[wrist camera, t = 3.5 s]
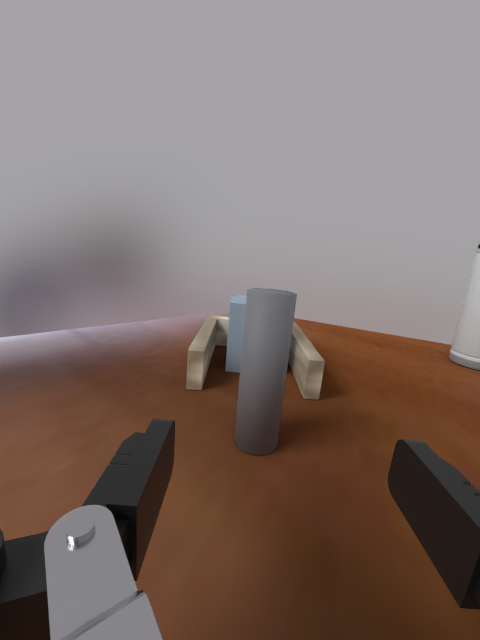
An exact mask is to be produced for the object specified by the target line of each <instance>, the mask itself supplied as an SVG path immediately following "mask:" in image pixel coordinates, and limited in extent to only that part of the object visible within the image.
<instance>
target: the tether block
mask: <svg viewBox="0 0 480 640" xmlns="http://www.w3.org/2000/svg"><path fill="white" fill-rule="evenodd" d="M296 296H297V294H295V293H292V292H288V291H281V290H274V289H261V288H260V289H259V288H254V289H248V290H247V296H237V295H232V298H231V302H230V314H229V327H228V340H227V353H226V366H225V371H226V372H238V373H240V377H239V388H238V400H237V411H236V422H235V433H234V442H235V444H236V446H237V447H238V448H239V449H240V450H242V451H243V452H245V453H248V454H251V455H267V454H270V453H272V452H273V451H274V450H275V449H276V448H277V444H278V436H279V428H280V421H281V413H282V405H283V397H284V390H285V382H286V374H287V366H288V359H289V351H290V343H291V335H292V328H293V320H294V312H295V304H296Z"/></svg>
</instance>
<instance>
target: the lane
mask: <svg viewBox="0 0 480 640" xmlns="http://www.w3.org/2000/svg"><path fill="white" fill-rule="evenodd" d="M228 327H229V317H220V316H207V318H206V319H205V321H204V323H203V325H202V326H201V328H200V330H199V332H198V333H197V335H196V337H195V339H194V340H193V342H192V344H191V346H190V347H189V349H188V357H187V381H186V389H192V390H202V387H203V384H204V380H205V377H206V374H207V371H208V367H209V364H210V361H211V357H212V354H213V351H214V348H215V345H218V346H227V340H228ZM288 363H289V365H290V367H291V370H292V372H293V375H294V377H295V379H296V382H297V384H298V386H299V389H300V391H301V394H302V396H303V398H304V399H316V400H319V395H320V389H321V383H322V377H323V370H324V364H325V361H324V360H323V358H322V357H321V356H320V354H319V353H318V352H317V350H316V349H315V348H314V346H313V345H312V344H311V342H310V341H309V340H308V339H307V337H306V336H305V335H304V333H303V332H302V331H301V329H300V328H299V327H298V325H297V324H296V323H293V328H292V335H291V343H290V351H289V359H288Z"/></svg>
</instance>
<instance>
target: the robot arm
mask: <svg viewBox="0 0 480 640" xmlns="http://www.w3.org/2000/svg"><path fill="white" fill-rule="evenodd" d="M174 443H175V421H174V420H163V419H153V420H152V421H151V423H150V425H149V427H148V429H147V431H146V432H145V433H137V432H135V433H134V434H133V435H131V436H130V437H129V438H127V439H126V440H125V441H123V443H122V444H121V446H120V448H119V449H118V451H117V452H116V455H115V456H114V457H113V458H112V460H111V462H110V464H109V466H107V468H106V469H105V471H104V473H103V474H102V476H101V477H100V479H99V480H98V482H97V483H96V485H95V487H94V488H93V490H92V491H91V493H90V494H89V496H88V498H87V499H86V501H85V502H84V504H83V505H82V507H79V508H76V509H74V510H72V511H70V512H68V513H67V514H65V515H64V516H63V517H61V518H60V519H59V520H58V521H57V522H56V523H55V524H54V525H53V526H52V527H51V529H50V530H49V531H46V532H43V533H40V534H36V535H31V536H26V537H22V538H17V539H12V540H8V541H4V536H3V532H2V531H1V529H0V640H163V639H162V637H161V634H160V631H159V628H158V625H157V622H156V619H155V616H154V614H153V611H152V608H151V605H150V602H149V600H148V597H147V595H146V594H145V592H144V591H143V590H142V591H140V592H139V591H138V589H137V587H136V584H135V581H137V578H138V575H139V572H140V569H141V566H142V563H143V560H144V557H145V554H146V551H147V548H148V545H149V542H150V539H151V536H152V533H153V529H154V526H155V523H156V520H157V517H158V514H159V511H160V508H161V505H162V502H163V499H164V496H165V493H166V490H167V487H168V484H169V481H170V477H171V474H172V469H173V463H174ZM388 485H389V490H390V493H391V495H392V497H393V499H394V500H395V502H396V503H397V505H398V507H399V508H400V510H401V512H402V513H403V515H404V517H405V518H406V520H407V521H408V523H409V525H410V526H411V528H412V530H413V531H414V533H415V535H416V536H417V538H418V539H419V541H420V543H421V544H422V546H423V548H424V549H425V551H426V553H427V554H428V556H429V557H430V559H431V561H432V562H433V564H434V566H435V567H436V569H437V571H438V572H439V574H440V575H441V577H442V579H443V580H444V582H445V584H446V585H447V587H448V589H449V590H450V592H451V593H452V595H453V597H454V598H455V600H456V602H457V603H458V605H459V607H460V608H467V609H480V492H479V491H478V490H477V489H476V488H475V487H474V486H473V485H471V484H470V482H469V481H468V480H467V479H466V478H465V477H464V476H463V475H462V474H461V473H460V472H459V471H458V470H457V469H456V468H454V467H453V466H451V465H450V464H449V463H447V462H446V461H444V460H443V459H441V458H439V457H438V456H437V455H436V454H435V453H434V452H433V451H432V450H431V449H430V447H429V446H428V445H427V444H426V443H424V442H422V441H412V440H398V441H397V443H396V445H395V450H394V454H393V458H392V462H391V466H390V470H389V474H388Z"/></svg>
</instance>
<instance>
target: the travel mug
mask: <svg viewBox="0 0 480 640" xmlns="http://www.w3.org/2000/svg"><path fill="white" fill-rule="evenodd" d="M451 347H452V349H451V350H450V354H449V359H450V360H451V361H453V362H454V363H456V364H459V365H461V366H464V367H467V368H471V369H475V370H480V244H479V246H478V249H477V254H476V255H475V259H474V263H473V267H472V271H471V274H470V278H469V282H468V286H467V290H466V293H465V297H464V301H463V304H462V308H461V312H460V316H459V320H458V323H457V327H456V331H455V335H454V338H453V342H452V346H451Z"/></svg>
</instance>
